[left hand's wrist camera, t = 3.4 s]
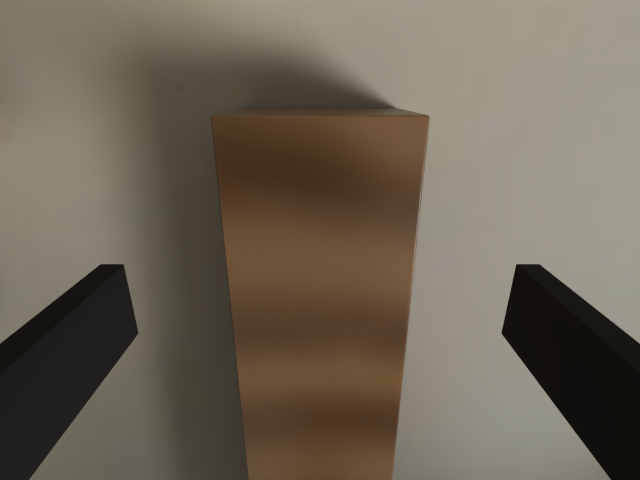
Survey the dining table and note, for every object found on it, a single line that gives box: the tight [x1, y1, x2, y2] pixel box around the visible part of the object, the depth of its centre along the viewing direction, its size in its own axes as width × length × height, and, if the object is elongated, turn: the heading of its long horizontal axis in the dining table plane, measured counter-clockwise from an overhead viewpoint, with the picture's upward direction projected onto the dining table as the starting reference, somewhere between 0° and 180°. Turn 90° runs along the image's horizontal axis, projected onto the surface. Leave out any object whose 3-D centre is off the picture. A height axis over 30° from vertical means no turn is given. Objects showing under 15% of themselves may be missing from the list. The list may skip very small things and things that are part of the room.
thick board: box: [211, 108, 430, 480], centre depth 28 cm, size 50×9×7 cm, turn 0°
